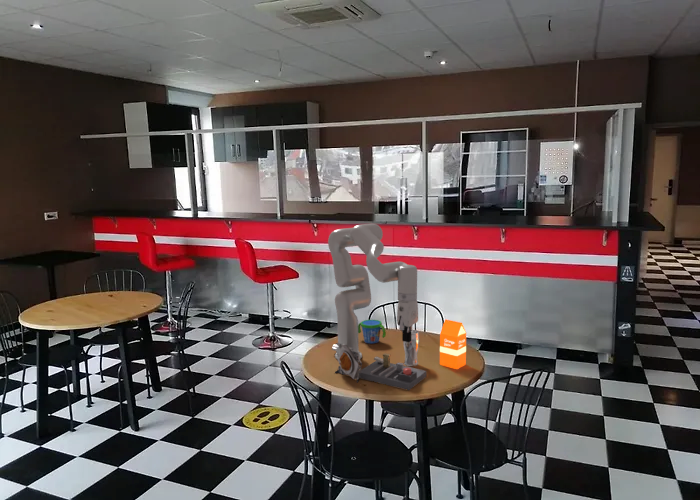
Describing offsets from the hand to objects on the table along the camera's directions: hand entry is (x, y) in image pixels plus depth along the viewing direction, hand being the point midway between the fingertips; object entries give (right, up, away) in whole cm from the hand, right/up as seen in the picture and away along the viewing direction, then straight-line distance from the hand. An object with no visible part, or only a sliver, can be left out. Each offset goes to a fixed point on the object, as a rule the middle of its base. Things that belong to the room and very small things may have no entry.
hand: (406, 341), depth 208 cm
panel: (-5, -17, +10) cm, 20 cm away
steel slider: (-2, -14, +10) cm, 17 cm away
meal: (-24, -17, +11) cm, 31 cm away
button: (0, -15, +2) cm, 15 cm away
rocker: (-9, -12, +19) cm, 24 cm away
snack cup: (-12, -10, +56) cm, 58 cm away
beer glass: (+5, -15, +25) cm, 29 cm away
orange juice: (+23, -15, +23) cm, 36 cm away
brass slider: (-7, -14, +14) cm, 21 cm away
